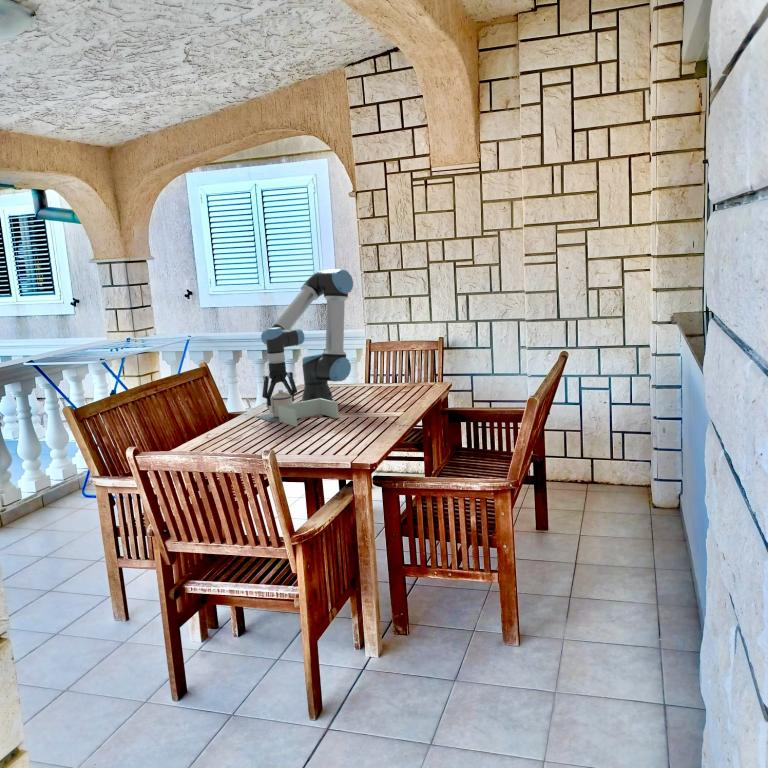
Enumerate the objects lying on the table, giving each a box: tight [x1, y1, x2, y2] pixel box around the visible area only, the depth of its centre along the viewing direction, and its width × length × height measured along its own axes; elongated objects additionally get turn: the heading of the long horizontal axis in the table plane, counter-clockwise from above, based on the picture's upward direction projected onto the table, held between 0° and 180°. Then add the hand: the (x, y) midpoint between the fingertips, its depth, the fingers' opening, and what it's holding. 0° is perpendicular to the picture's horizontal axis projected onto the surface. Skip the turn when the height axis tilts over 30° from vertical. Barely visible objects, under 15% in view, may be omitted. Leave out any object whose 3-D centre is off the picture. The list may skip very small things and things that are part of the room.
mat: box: [255, 413, 280, 423], centre depth 337 cm, size 18×18×1 cm
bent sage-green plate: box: [278, 398, 340, 427], centre depth 324 cm, size 21×16×7 cm
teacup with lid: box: [265, 389, 291, 417], centre depth 335 cm, size 12×9×12 cm
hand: (281, 410), depth 336 cm, fingers closed on teacup with lid, 9 cm apart
